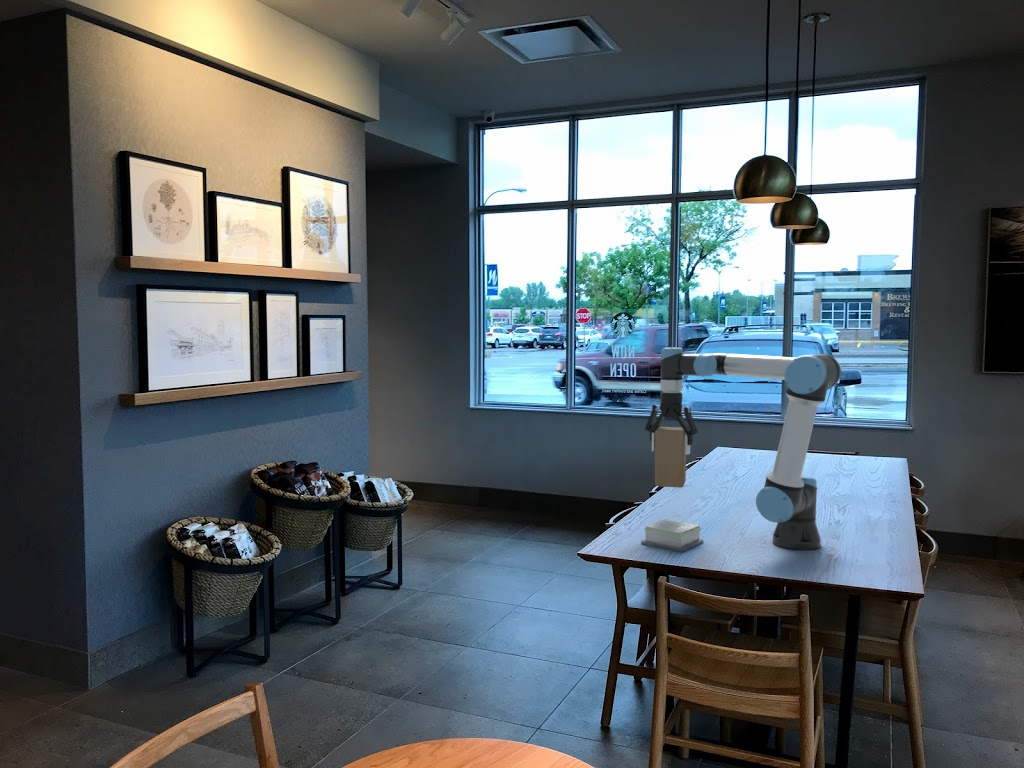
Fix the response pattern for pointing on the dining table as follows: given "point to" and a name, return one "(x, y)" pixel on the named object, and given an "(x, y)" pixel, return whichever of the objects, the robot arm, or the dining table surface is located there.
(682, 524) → the stand
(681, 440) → the wooden block
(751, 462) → the dining table surface
